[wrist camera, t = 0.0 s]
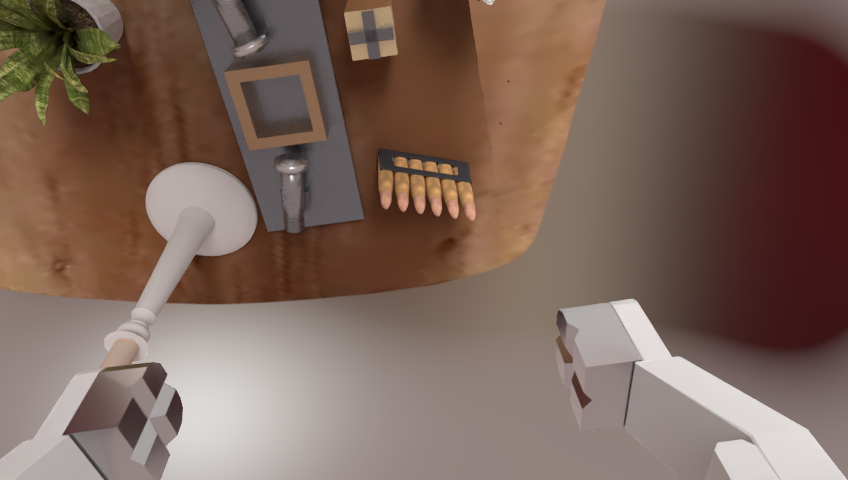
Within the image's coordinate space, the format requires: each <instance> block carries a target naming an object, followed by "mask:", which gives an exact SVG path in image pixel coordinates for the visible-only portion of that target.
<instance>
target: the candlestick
mask: <svg viewBox="0 0 848 480" xmlns="http://www.w3.org/2000/svg"><path fill="white" fill-rule="evenodd" d="M146 210H147V214H148V217H149V219H150V221H151V223H152V225H153V226H154V228H155V229H156V230H157V231H158V232H159V234H160V235H161V236H162V237H164V238H165V239H166V240H167V241H168V243H167V245H166V247H165V249H164V251H163V253H162V255H161V257H160V259H159V261H158V263H157V265H156V267H155V269H154V271H153V273H152V275H151V277H150V279H149V281H148V283H147V285H146V287H145V289H144V291H143V293H142V295H141V297H140V299H139V301H138V303H137V305H136V307H135V309H134V310H133V311H132V312H131V318H132V319H131V320H130V321H129V322H126V323H124V324H122V325H121V326H119V328H118V330H117V331H115V332H112V333H110V334H108V335H107V336H106V337H105V340H104V346H105V348H106V350H107V351H108V352H109V353H108V355H107V356H106V358H105V359H104V361H103V363H102V365H101V366H100V368H106V367H114V366H123V365H131V364H132V362H133V361H138V360H141V359H144V358H145V357H146V356H147V355H148V353H149V346H148V344H147V342H148V340H149V338H150V333H149V331H148V327H149V325H152V324H153V323H154V322H155V320H156V317H157V316H158V314H159V312H160V311H161V309H162V308H163V306H164V304H165V303H166V301H167V300H168V298H169V296H170V295H171V293H172V292H173V290H174V288H175V287H176V285H177V284H178V282H179V280H180V279H181V277H182V276H183V274H184V272H185V271H186V269H187V268H188V266H189V265H190V263H191V261H192V260H193V258H194V257H195V255H196V254H197V255H203V256H220V255H225V254H229V253H232V252H234V251H236V250H238V249H240V248H241V247H243V246H244V245H245V244H246V243H247V242H248V241H249V240H250V239H251V237H252V235H253V234H254V231H255V229H256V226H257V221H258V212H257V207H256V203H255V201H254V198H253V196H252V195H251V193H250V191H249V190H248V189H247V187H246V186H245V185H244V184H243V183H242V182H241V181H240V180H239V179H237V178H236V177H235V176H234V175H232V174H231V173H229V172H227V171H225V170H223V169H221V168H219V167H216V166H213V165H210V164H206V163H199V162H185V163H179V164H175V165H172V166H170V167H168V168H166V169H164V170H163V171H161V172H160V173H159V174H158V175H157V176H156V177H155V178H154V179H153V181H152V182H151V184H150V185H149V187H148V190H147V194H146ZM100 368H99V369H100Z"/></svg>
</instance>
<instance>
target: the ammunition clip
mask: <svg viewBox="0 0 848 480" xmlns="http://www.w3.org/2000/svg"><path fill="white" fill-rule="evenodd" d="M393 171H394V180H393ZM377 173H378V189H379V192H380V200H381V204H382V206H383V208H384V209H388V208H389V206H390V204H391V201H392V192H393V189H394V186H395V193H396V196H397V202H398V206H399V208H400V210H401V211H402V212H405V211H406V209H407V207H408V203H409V192H410V189H411V195H412V197H413V201H414V205H415V208H416V210H417V212H418V213H419V214H422V213H423V212H424V210H425V195H426V193H427V197H428V199H429V202H430V205H431V209H432V211H433V213H434V214H435V215H436V216H437V217H439V216H440V214H441V211H442V199H441V198H442V194H443V199H444V201H445V203H446V205H447V208H448V211H449V214H450V215H451V216H452V218H454V219H457V217H458V214H459V206H458V197H459V201H460V203H461V205H462V206H463V209H464V212H465V214H466V216H467V218H468V219H469V220H470V221H472V222H473V221H474V220H475V215H476V211H475V204H474V195H473V192H472V188H471V183H472V181H471V176H470V171H469V166H468V163H467V162H461V161H455V160H449V159H442V158H436V157H430V156H423V155H417V154H411V153H404V152H398V151H391V150H385V149H379V151H378V157H377ZM409 179H410V182H409Z"/></svg>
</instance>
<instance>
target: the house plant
mask: <svg viewBox="0 0 848 480" xmlns="http://www.w3.org/2000/svg"><path fill="white" fill-rule="evenodd" d="M0 18H1V19H0V51H2V50H6V49H11V48H21V49H20V50H18V51H16V52H15V53H13V54H12V55H10V56H9V57H8V58H7V59H6V61H5V62H4V64H3V65H2V67H0V101H2V100H3V99H4V98H6V97H7V96H9V95H10V94H12V93H13V92H15V91H23V92H26V91H28V90H30V89H32V88H33V87H34V86H35V85H36V84H37V87H36V90H35V106H36V111H37V114H38V117H39V119H40V120H41V122H42V124H43V126H44V125H45V121H46V116H45V110H46V108H47V105H48V97H49V89H50V85H51V83H52V80H53V78H54V76H56V77H57V78H59V79H63V80H64V84H65V88H66V92H67V95H68V97H69V99H70V101H71V102H72V103H73V104H74V105H75V106H76V107H77V108H78V109H80V110H81V111H83V112H84V113H86V114H88V111H89V108H90V103H89V99H88V97H87V94H86V93H88V91H87V89H86V88H85V87H84V86H83V85H81V83H80V80H79V78H78V76H77V75H76V74H83V73H87V72H91V71H92V70H94V69H95V68H97V67H98V66H99V65H100V63H107V62H112V61H114V60H118V59H115V58H109V57H106V56H107V55H108V54H109V53H111V52H112V51H114V50H116V49H118V48H121V47H116V46H120V44H118V43H117V42H118V41H119V39H120V38H121V37H122V34H123V20H122V16H121V15H120V13H119V11H118V9H117V8H116V6H115V5H114V4H113V3H112V2H111V1H110V0H0ZM2 19H3V20H2ZM4 20H6V21H9V22H11V23H14V24H16V25H18V26H16V25H14V24H11V23H9V22H6V21H4ZM57 70H59V71H62V73H63V78H62V77H61V76H59V75H58V74H57V73H56V71H57ZM37 82H38V83H37ZM88 115H89V114H88ZM44 127H45V126H44Z"/></svg>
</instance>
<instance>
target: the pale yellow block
mask: <svg viewBox="0 0 848 480" xmlns="http://www.w3.org/2000/svg"><path fill="white" fill-rule="evenodd" d="M344 17H345V22H346V27H347V33H348V38H349V43H350V48H351V54H352V59H353V61H356V60H363V59H369V60H372V59H380V58H381V57H385V56H392V55H398V52H397V40H396V29H395V22H394V15H393V8H392V0H348V1H347V4H346V7H345V10H344Z"/></svg>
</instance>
